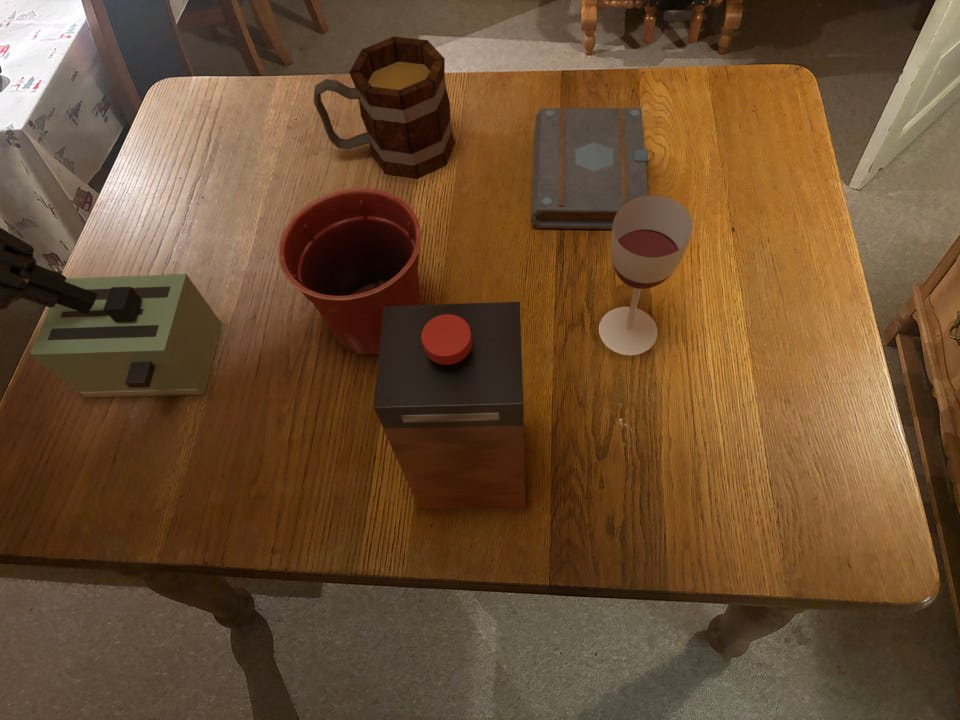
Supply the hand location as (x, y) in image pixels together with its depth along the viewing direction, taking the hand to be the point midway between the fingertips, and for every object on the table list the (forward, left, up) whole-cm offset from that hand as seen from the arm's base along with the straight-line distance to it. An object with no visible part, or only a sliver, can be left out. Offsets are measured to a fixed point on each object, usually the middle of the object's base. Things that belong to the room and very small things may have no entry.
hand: (92, 304), depth 77 cm
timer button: (+26, -38, +14) cm, 49 cm away
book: (+67, -11, -13) cm, 69 cm away
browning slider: (+3, -2, -2) cm, 4 cm away
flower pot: (+28, -13, -13) cm, 34 cm away
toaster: (0, -2, -13) cm, 13 cm away
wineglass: (+53, -35, -13) cm, 65 cm away
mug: (+47, +13, -13) cm, 50 cm away
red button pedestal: (+26, -38, -13) cm, 48 cm away
